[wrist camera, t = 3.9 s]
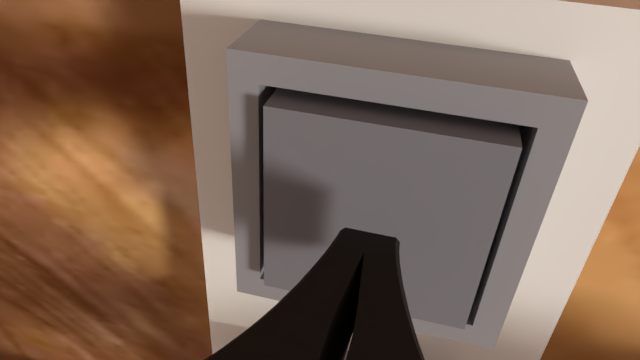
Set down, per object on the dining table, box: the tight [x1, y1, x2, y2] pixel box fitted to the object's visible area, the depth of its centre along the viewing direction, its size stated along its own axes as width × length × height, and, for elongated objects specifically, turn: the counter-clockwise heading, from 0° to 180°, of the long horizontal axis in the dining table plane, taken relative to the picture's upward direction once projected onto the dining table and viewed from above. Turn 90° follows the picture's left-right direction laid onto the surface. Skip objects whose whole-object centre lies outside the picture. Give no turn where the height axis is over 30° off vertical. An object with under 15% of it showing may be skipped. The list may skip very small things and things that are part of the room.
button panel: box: [180, 0, 640, 360], centre depth 19 cm, size 13×24×4 cm, turn 177°
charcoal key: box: [263, 88, 522, 329], centre depth 15 cm, size 6×6×3 cm
